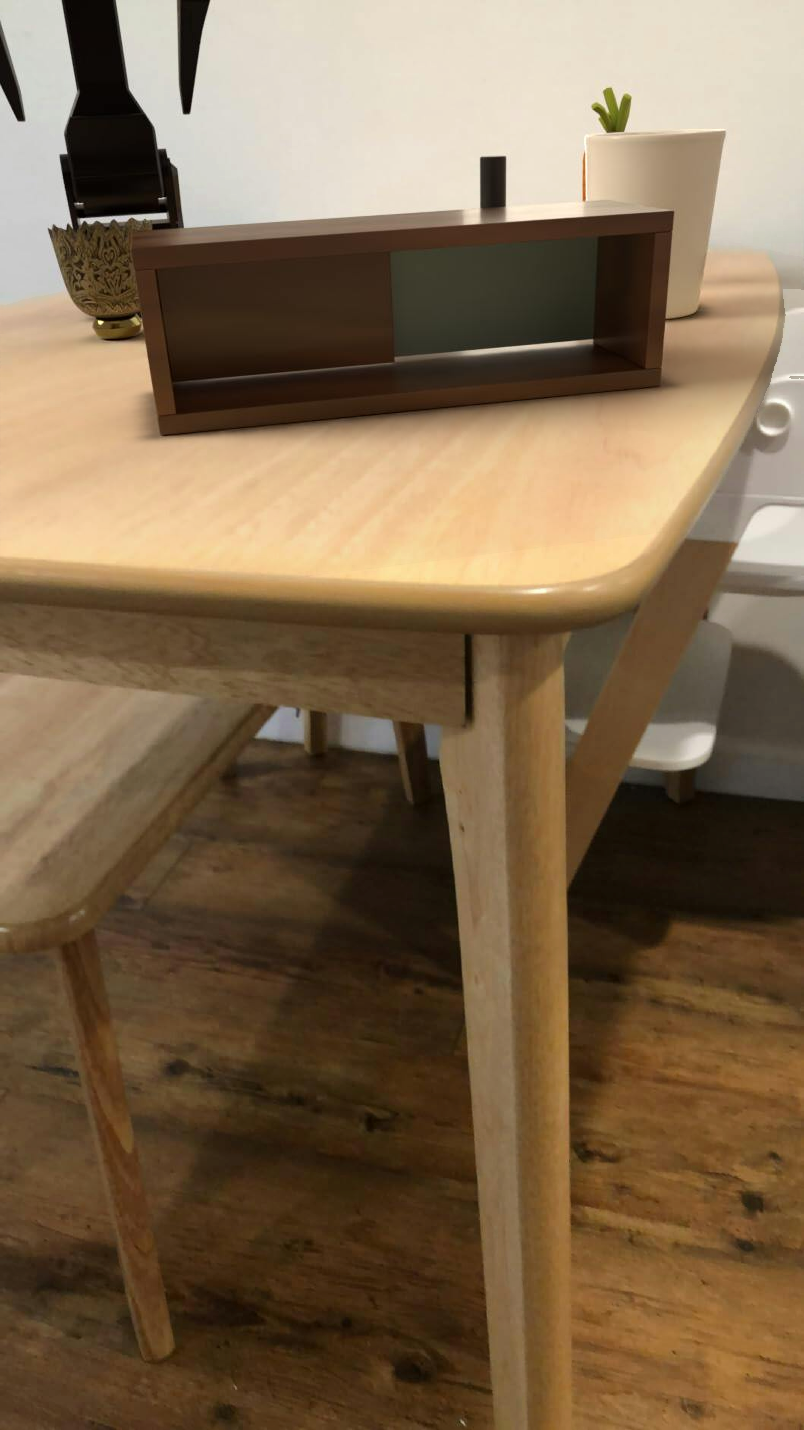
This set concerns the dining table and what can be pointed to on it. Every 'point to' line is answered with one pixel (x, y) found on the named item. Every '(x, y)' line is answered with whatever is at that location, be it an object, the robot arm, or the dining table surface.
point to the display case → (377, 315)
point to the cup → (101, 274)
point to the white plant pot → (664, 193)
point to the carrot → (609, 120)
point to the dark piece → (493, 288)
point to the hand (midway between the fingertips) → (105, 117)
